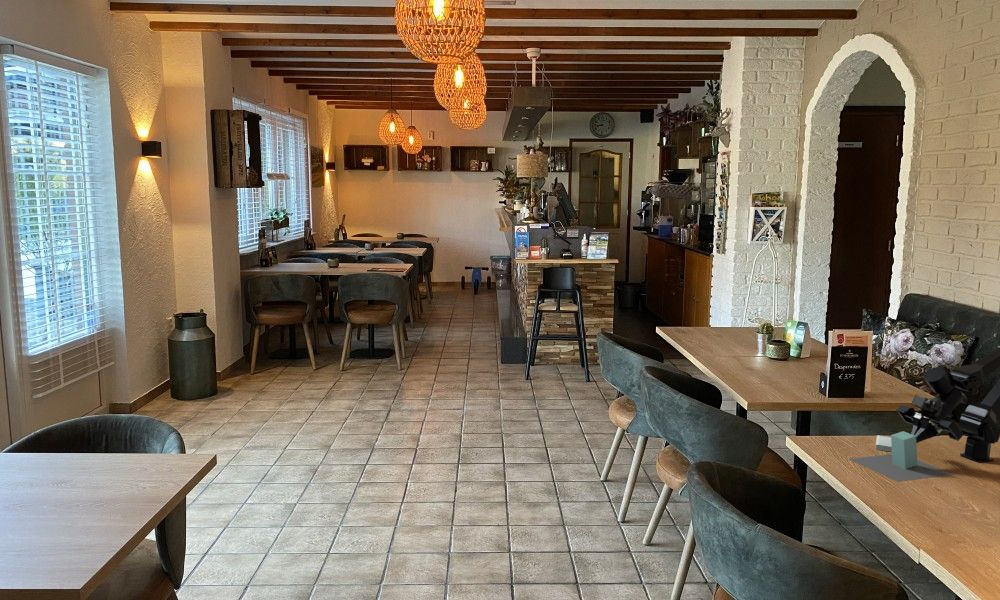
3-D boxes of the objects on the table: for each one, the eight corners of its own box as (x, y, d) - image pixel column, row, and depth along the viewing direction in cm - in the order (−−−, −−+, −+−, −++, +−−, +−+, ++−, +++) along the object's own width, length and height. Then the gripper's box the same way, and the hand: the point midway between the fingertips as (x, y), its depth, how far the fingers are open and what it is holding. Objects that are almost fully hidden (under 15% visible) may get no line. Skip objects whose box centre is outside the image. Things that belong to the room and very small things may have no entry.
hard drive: (905, 449, 228) (905, 438, 239) (875, 444, 231) (876, 434, 242) (905, 454, 228) (904, 443, 239) (875, 449, 232) (876, 439, 243)
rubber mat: (900, 454, 229) (901, 452, 229) (952, 475, 212) (953, 474, 212) (848, 460, 223) (848, 459, 223) (897, 482, 206) (897, 481, 206)
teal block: (904, 459, 221) (903, 431, 219) (917, 465, 216) (916, 436, 215) (892, 463, 219) (891, 435, 218) (905, 469, 215) (903, 440, 213)
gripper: (904, 378, 226) (871, 416, 224) (960, 394, 208) (924, 435, 206) (921, 402, 229) (889, 439, 227) (977, 420, 212) (943, 460, 210)
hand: (910, 443), depth 217 cm, fingers closed, pressing on teal block
